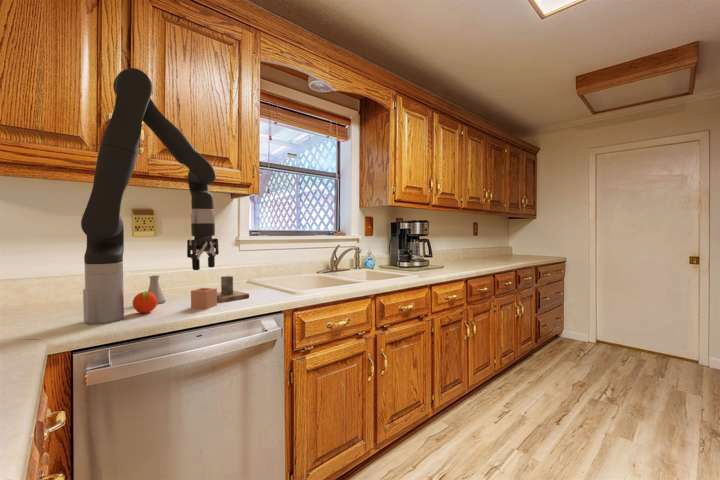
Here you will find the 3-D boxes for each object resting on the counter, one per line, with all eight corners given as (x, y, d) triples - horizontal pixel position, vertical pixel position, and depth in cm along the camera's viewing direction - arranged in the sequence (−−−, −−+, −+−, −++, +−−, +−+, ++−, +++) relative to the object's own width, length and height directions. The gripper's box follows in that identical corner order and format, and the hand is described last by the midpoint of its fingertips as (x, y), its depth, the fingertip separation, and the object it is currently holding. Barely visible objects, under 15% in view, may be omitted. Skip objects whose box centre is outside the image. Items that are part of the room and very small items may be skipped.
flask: (138, 304, 126) (138, 277, 125) (151, 300, 133) (150, 274, 133) (158, 305, 126) (158, 277, 125) (170, 300, 133) (169, 274, 132)
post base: (220, 302, 130) (220, 279, 129) (205, 298, 138) (204, 276, 137) (249, 297, 139) (248, 276, 139) (233, 293, 147) (233, 273, 146)
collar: (206, 308, 120) (206, 291, 119) (191, 307, 121) (190, 290, 121) (217, 304, 126) (216, 288, 125) (201, 304, 127) (201, 287, 126)
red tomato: (157, 314, 112) (157, 292, 111) (131, 317, 108) (131, 294, 108) (157, 309, 119) (157, 288, 118) (133, 311, 115) (133, 290, 115)
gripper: (199, 222, 114) (200, 271, 115) (224, 222, 128) (225, 266, 129) (179, 222, 116) (180, 271, 116) (205, 222, 130) (206, 266, 130)
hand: (204, 268), depth 123 cm, fingers open, 8 cm apart
